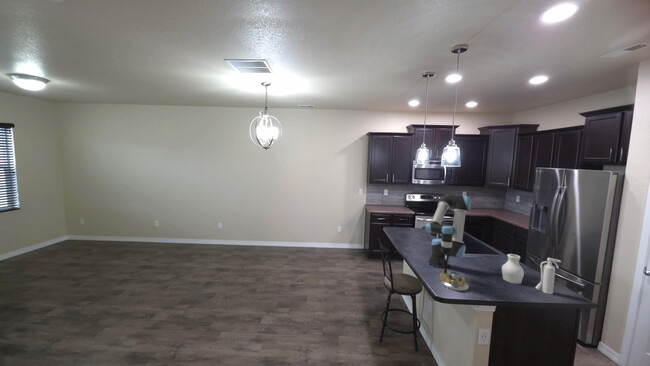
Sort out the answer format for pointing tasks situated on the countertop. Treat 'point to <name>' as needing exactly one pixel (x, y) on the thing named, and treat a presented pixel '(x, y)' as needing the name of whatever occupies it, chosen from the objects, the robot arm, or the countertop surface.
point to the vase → (513, 270)
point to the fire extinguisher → (547, 276)
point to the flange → (455, 283)
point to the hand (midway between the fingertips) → (445, 276)
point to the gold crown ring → (448, 279)
